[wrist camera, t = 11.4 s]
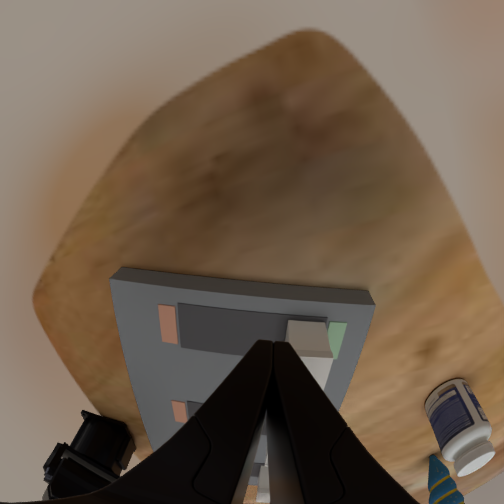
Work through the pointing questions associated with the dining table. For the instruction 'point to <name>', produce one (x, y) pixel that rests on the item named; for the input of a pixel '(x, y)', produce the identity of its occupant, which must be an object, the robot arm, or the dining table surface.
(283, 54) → the dining table surface
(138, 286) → the breaker panel
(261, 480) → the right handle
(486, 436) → the pill bottle
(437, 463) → the ornament
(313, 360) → the handle
